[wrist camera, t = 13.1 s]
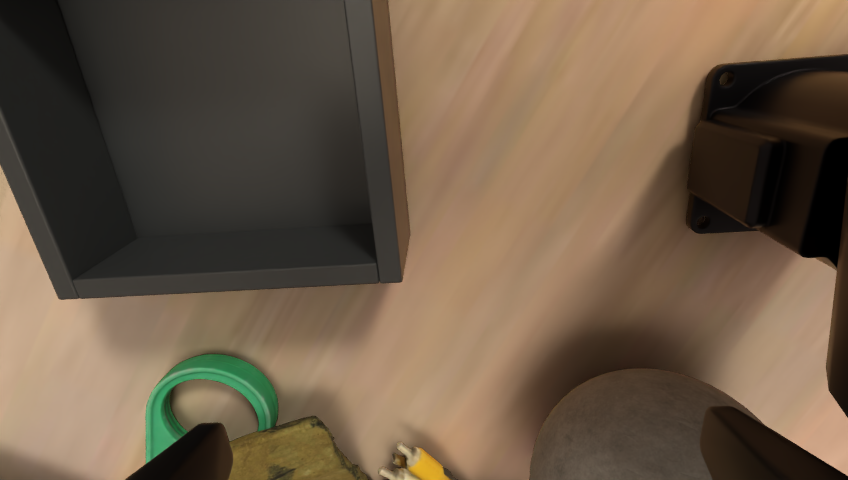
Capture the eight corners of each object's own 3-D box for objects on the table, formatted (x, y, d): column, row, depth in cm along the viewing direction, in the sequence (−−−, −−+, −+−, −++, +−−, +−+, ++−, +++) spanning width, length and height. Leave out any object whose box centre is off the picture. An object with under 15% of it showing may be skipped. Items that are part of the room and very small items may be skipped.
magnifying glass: (197, 330, 22) (178, 351, 21) (303, 394, 24) (293, 419, 22) (77, 499, 27) (54, 527, 26) (170, 545, 29) (154, 574, 27)
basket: (380, -83, 16) (358, -127, 12) (410, 235, 20) (402, 283, 16) (28, -47, 17) (-107, -76, 13) (132, 251, 21) (58, 300, 17)
